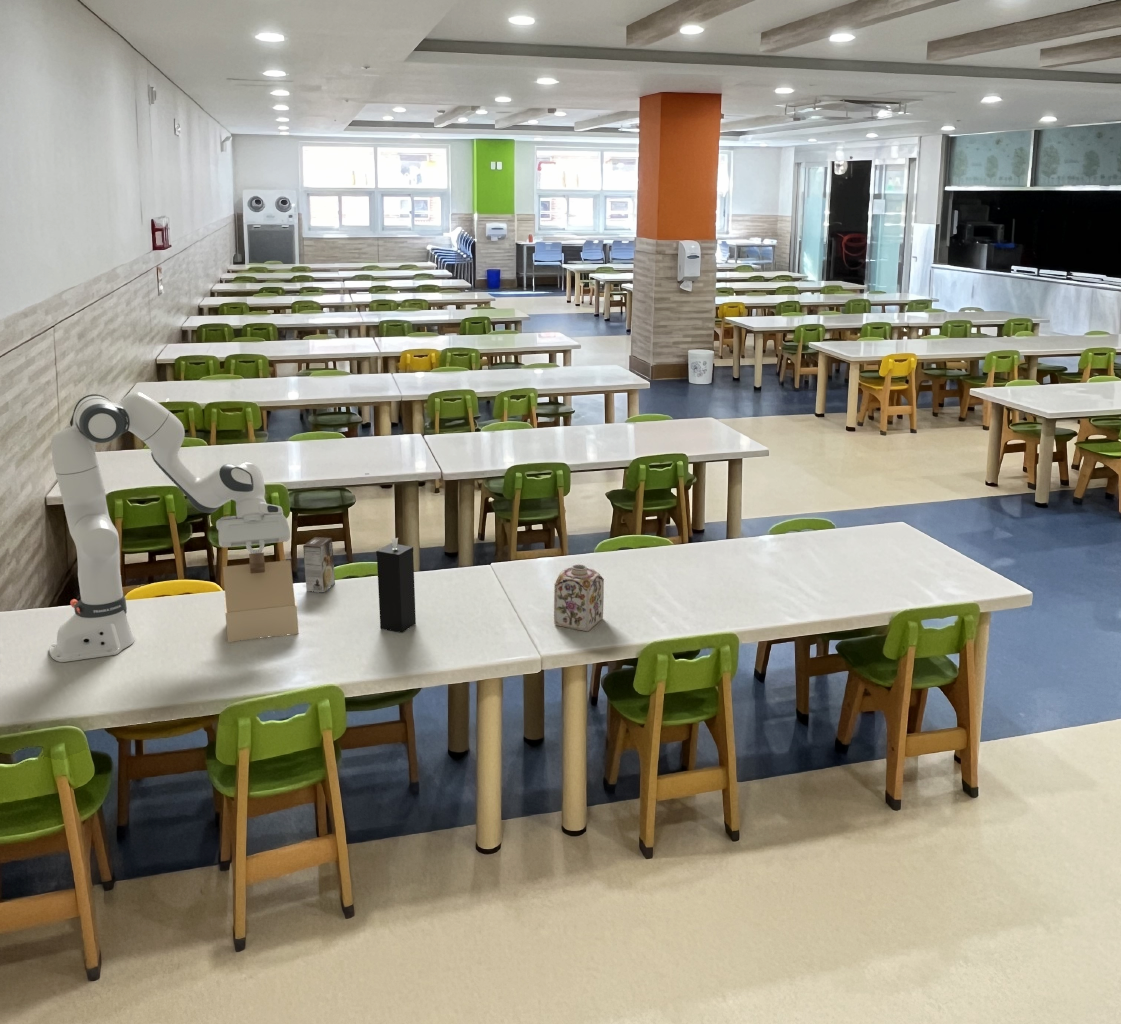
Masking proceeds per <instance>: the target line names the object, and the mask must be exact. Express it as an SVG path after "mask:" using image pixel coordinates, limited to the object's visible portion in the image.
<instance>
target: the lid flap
mask: <svg viewBox="0 0 1121 1024" xmlns="http://www.w3.org/2000/svg"><path fill="white" fill-rule="evenodd" d="M248 557H249V563H246V564H238V565H237V564H235V565H227V566H222V574H223V585H224V596H225V598H226V610H227V613H231V612H241V611H250V610H259V609H268V608H277V607H287V606H295V601H296V597H295V598H294V596H295V591H294V583H293V582H294V581H293V572H292V571H293V570H292V564H291V563H292V562H291V560H289V559H287V560H279V561H268V562H267V561H266V562H265V553H264V552H261V553H254V554H251V553H249V556H248Z"/></svg>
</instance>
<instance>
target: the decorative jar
mask: <svg viewBox="0 0 1121 1024" xmlns="http://www.w3.org/2000/svg"><path fill="white" fill-rule="evenodd" d="M557 576H558V577H557V578H556V580H555V583H554V592H553V594H554V597H553V599H554V600H553V605H554V606H553V616H554V617H553V620H554V621H553V624H554V626H557V627H563V628H568V629H573V630H577V631H581V632H582V631H584V632H589V631H590V630H592V629H593V627H595V626H596V625H597V624H598V623H599V622H600V621H602V620H603V618H604V598H605V597H604V595H605V594H604V591H605V588H604V584H605V581H604V580H605V579H604V577H603V576H602V575H601V574H600V573H599V572H597V571H596V570H595V569H593V568H589V567H588V566H587V565H584V564H579V563H578V564H574V565H571V567H567V568H565V569H563V570H562V571H561V572H560V573H559V574H558V575H557Z"/></svg>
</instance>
